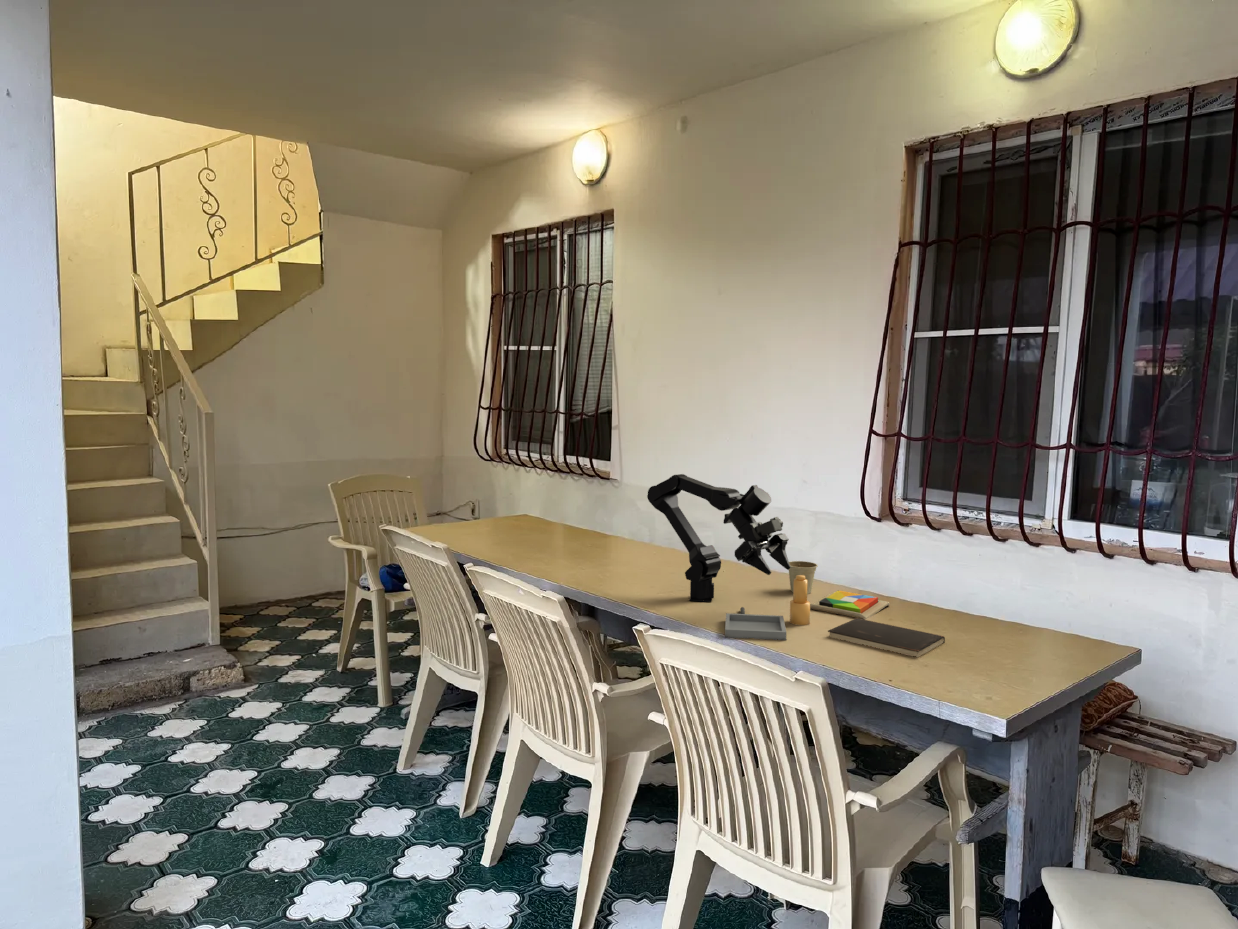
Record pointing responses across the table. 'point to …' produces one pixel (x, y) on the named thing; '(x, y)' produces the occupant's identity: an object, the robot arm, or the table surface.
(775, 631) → the grey square tray
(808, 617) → the orange rounded stepped post
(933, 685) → the table surface
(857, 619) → the hardcover book
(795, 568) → the flower pot
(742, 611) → the rod
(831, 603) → the wooden puzzle
